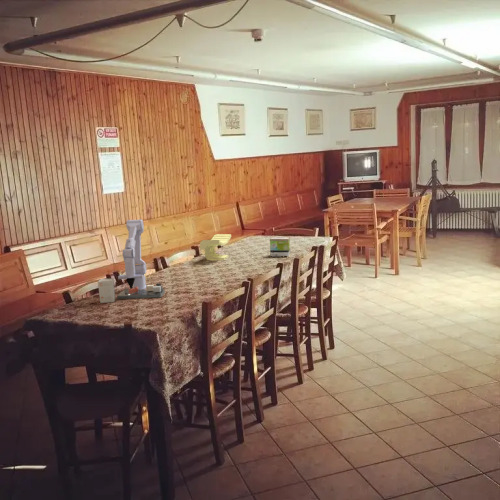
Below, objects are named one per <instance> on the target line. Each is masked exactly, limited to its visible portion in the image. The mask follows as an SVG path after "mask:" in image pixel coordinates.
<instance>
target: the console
mask: <svg viewBox="0 0 500 500" xmlns="http://www.w3.org/2000/svg"><path fill="white" fill-rule="evenodd" d="M165 292H166V291H165V288H164V286H162V285H161V292H154V291H147V289H144V290H138V292H135V293H131V294H128V295H125V291H124V290H122V291H121V292H119V294H117V295H116V297H117V298H116V300H128V299H129V300H130V299H133V300H134V299H160V298H162V297H163V295H164V293H165Z"/></svg>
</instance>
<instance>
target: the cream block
mask: <svg viewBox="0 0 500 500" xmlns="http://www.w3.org/2000/svg"><path fill="white" fill-rule="evenodd" d="M146 285H147V286H146V288H145V289H146V290H147V291H153V287H154V286H155V284H146Z"/></svg>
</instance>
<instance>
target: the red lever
mask: <svg viewBox="0 0 500 500" xmlns="http://www.w3.org/2000/svg"><path fill="white" fill-rule="evenodd" d="M123 291H125V295H128V294H131V293H135V292H138V287H135V288H134V287H133V288H132V289H130V288H128V287H127V288H124V290H123Z"/></svg>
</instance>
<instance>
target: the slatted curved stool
mask: <svg viewBox="0 0 500 500" xmlns="http://www.w3.org/2000/svg"><path fill="white" fill-rule="evenodd" d="M231 238H232V234H231V233H229V234H228V233H227V234H225V233H223V234H222V233H220V234H219V233H217V234H214V235H213V236H212V238H211V239H202V240H201V241H200V242H199V247H200V250H202V251H203V250H204V255H205V259H206V260H207V261H217V260H224V261H225V260H227V259H229V258H230V257H229V255H227V254H224V255H223V254H218V253H216V247H217V246H225V245H226V244H229V242H230V240H231ZM228 257H229V258H228ZM226 258H227V259H226Z"/></svg>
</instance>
